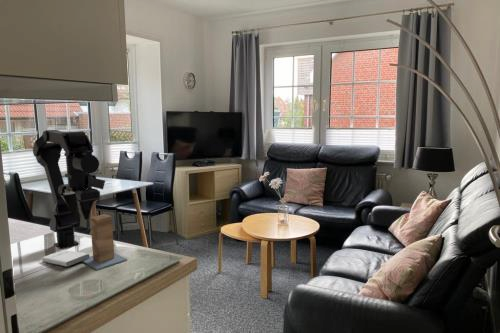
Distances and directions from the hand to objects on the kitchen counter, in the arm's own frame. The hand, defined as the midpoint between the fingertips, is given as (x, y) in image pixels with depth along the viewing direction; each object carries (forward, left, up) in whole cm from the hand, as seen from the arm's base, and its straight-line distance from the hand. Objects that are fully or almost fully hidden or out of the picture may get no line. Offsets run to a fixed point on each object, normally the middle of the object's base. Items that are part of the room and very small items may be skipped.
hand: (80, 216), depth 121 cm
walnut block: (+10, +2, -12) cm, 16 cm away
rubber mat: (+10, +2, -13) cm, 17 cm away
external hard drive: (+1, -6, -13) cm, 14 cm away
